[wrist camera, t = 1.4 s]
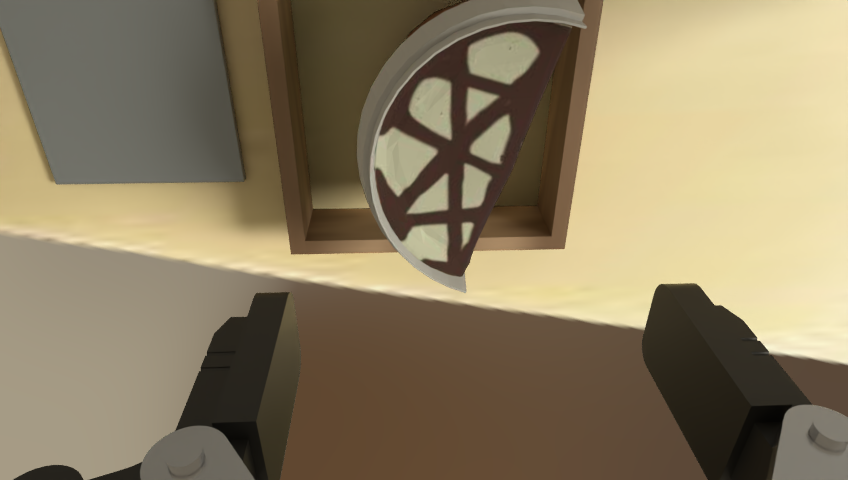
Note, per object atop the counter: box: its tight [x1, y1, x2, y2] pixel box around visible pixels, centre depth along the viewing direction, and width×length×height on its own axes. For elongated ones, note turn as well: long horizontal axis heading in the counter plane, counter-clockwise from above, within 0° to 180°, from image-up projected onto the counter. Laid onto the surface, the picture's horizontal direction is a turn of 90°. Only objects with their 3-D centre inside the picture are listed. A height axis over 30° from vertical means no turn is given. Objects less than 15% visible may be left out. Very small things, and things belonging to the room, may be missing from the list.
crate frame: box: [257, 0, 603, 254], centre depth 28 cm, size 15×17×4 cm
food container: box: [357, 0, 587, 293], centre depth 25 cm, size 12×6×10 cm, turn 161°
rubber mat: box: [0, 0, 246, 184], centre depth 28 cm, size 10×13×1 cm
